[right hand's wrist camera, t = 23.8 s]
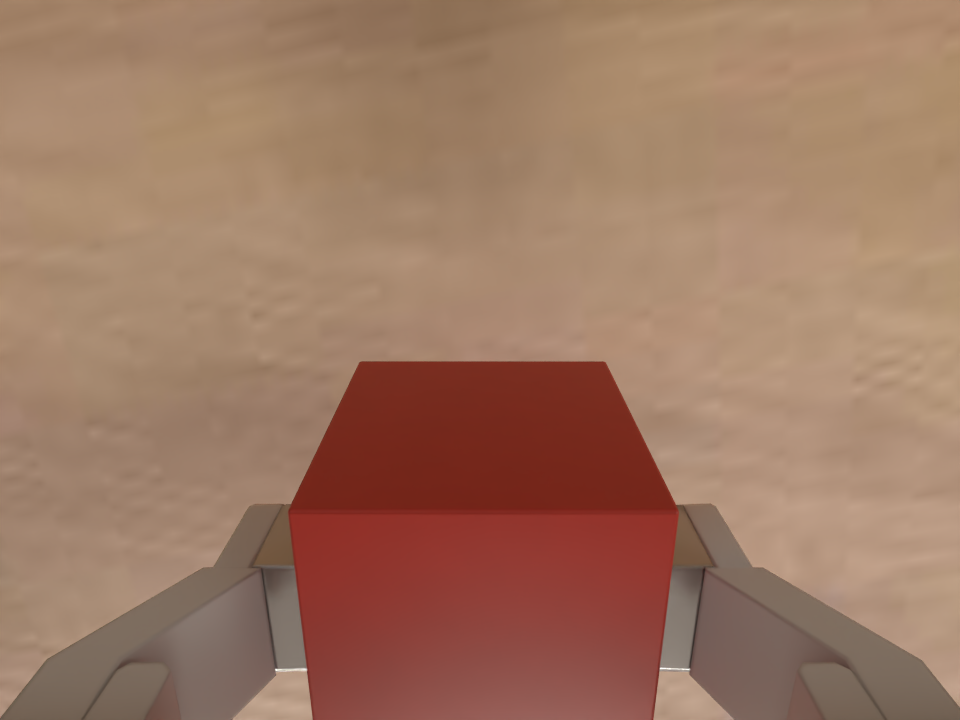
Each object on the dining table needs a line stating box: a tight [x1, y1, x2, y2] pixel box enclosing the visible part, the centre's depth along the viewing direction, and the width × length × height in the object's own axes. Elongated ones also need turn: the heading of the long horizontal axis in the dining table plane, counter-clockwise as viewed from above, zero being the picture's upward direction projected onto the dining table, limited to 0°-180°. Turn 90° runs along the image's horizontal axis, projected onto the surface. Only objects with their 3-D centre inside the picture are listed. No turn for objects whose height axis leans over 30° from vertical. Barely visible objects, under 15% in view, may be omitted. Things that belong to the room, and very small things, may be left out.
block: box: [288, 362, 679, 720], centre depth 10 cm, size 5×4×4 cm
